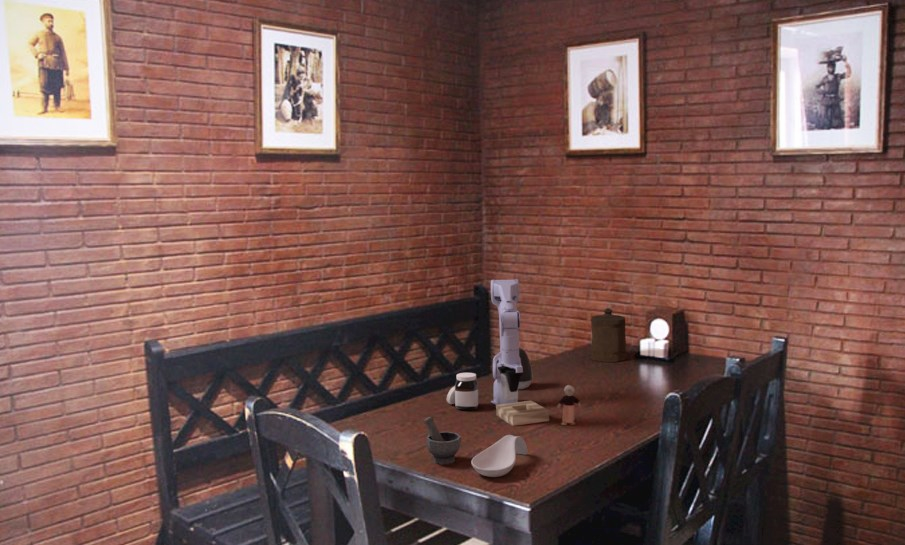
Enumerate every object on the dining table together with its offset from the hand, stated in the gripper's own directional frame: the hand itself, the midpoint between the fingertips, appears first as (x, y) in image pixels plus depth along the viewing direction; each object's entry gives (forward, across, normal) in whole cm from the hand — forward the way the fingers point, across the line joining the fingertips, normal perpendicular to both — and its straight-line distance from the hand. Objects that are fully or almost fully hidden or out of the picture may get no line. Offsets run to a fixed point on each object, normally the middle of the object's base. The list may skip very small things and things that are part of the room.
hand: (510, 389), depth 262 cm
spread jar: (+11, -22, -9) cm, 26 cm away
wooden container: (+11, -66, +76) cm, 101 cm away
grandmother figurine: (+10, +11, +16) cm, 22 cm away
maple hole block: (+10, -1, +4) cm, 11 cm away
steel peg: (+3, 0, 0) cm, 3 cm away
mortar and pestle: (+10, +26, -33) cm, 44 cm away
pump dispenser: (+11, -37, +20) cm, 44 cm away
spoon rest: (+11, +38, -20) cm, 44 cm away
